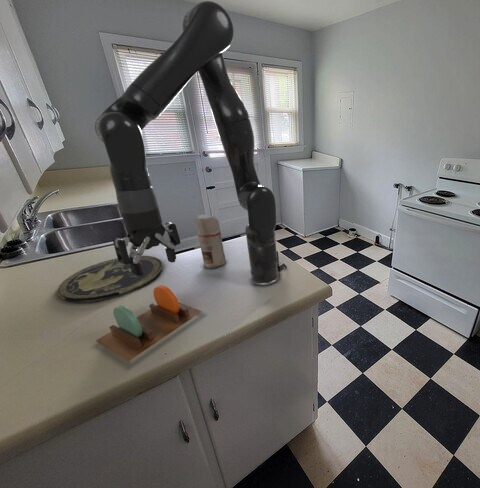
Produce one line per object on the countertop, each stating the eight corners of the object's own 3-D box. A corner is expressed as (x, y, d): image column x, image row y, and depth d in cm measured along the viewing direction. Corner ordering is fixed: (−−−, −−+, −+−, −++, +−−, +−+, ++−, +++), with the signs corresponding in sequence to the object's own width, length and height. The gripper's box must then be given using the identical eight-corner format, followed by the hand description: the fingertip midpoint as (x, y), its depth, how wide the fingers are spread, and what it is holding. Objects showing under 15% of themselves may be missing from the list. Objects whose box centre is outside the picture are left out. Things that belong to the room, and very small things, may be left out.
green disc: (125, 329, 70) (114, 300, 66) (146, 341, 66) (135, 311, 62) (120, 332, 69) (108, 303, 65) (141, 344, 65) (130, 314, 61)
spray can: (199, 264, 105) (189, 215, 97) (219, 257, 111) (210, 210, 103) (210, 271, 100) (200, 220, 92) (230, 263, 106) (222, 214, 98)
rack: (171, 302, 83) (168, 291, 81) (203, 315, 77) (200, 304, 75) (97, 345, 67) (91, 332, 65) (130, 366, 61) (124, 353, 59)
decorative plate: (153, 248, 115) (170, 275, 94) (154, 252, 115) (172, 280, 94) (59, 271, 97) (54, 311, 76) (61, 276, 98) (57, 317, 77)
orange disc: (162, 308, 78) (154, 281, 74) (182, 317, 74) (175, 289, 70) (158, 310, 77) (149, 283, 73) (178, 320, 73) (171, 292, 69)
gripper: (115, 218, 56) (136, 285, 62) (177, 202, 67) (190, 260, 74) (96, 213, 59) (118, 277, 65) (158, 198, 70) (172, 254, 77)
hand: (156, 268), depth 69 cm, fingers open, 8 cm apart
